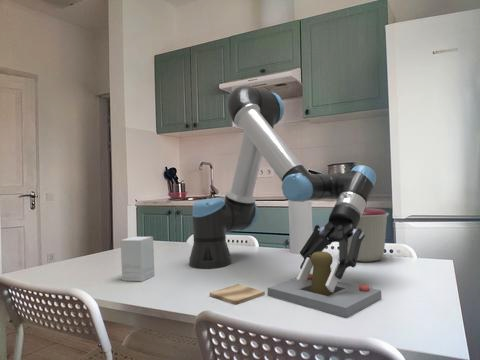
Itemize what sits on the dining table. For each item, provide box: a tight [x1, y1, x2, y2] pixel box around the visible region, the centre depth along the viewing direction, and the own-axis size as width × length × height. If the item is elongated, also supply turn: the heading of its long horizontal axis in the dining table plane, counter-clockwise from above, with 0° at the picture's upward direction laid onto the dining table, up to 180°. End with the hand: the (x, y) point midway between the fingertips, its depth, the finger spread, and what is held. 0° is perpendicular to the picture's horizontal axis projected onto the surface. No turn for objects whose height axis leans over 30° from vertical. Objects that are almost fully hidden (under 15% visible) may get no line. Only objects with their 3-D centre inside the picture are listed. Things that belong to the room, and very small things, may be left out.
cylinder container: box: [287, 199, 314, 255], centre depth 144 cm, size 9×9×30 cm
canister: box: [347, 207, 390, 263], centre depth 126 cm, size 18×18×21 cm
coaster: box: [209, 283, 266, 306], centre depth 89 cm, size 10×10×1 cm
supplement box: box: [120, 236, 155, 282], centre depth 110 cm, size 7×7×13 cm
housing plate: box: [266, 273, 382, 319], centre depth 86 cm, size 22×16×3 cm
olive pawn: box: [311, 251, 335, 296], centre depth 86 cm, size 6×6×11 cm
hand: (314, 285), depth 83 cm, fingers open, 8 cm apart
